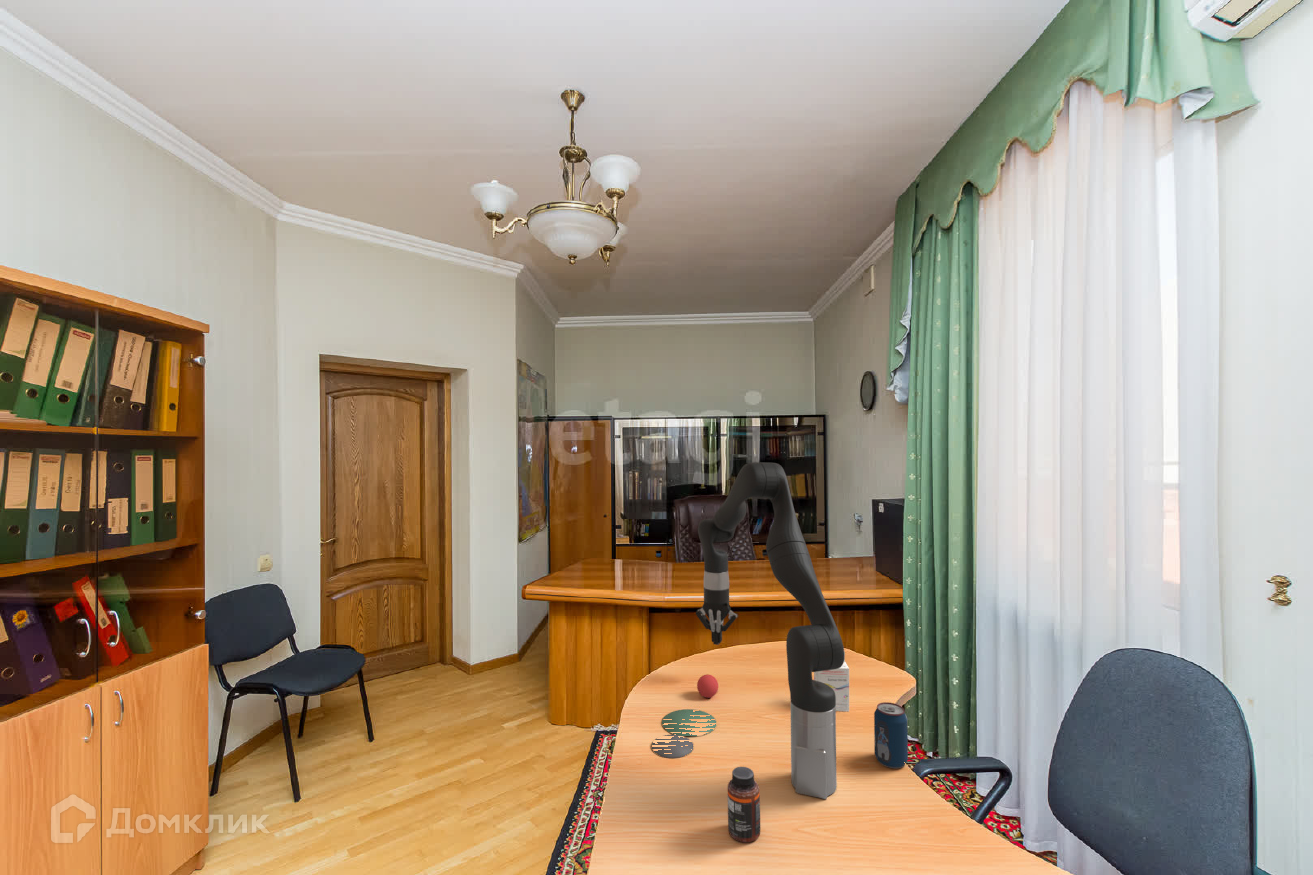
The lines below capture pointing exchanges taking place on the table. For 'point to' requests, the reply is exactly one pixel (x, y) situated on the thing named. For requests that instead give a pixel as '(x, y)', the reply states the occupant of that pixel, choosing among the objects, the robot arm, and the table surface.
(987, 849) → the table surface
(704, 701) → the table surface
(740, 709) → the table surface
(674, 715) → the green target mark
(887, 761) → the soda can
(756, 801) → the supplement bottle
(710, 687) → the ball
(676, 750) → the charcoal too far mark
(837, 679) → the ink cartridge box
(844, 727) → the table surface
